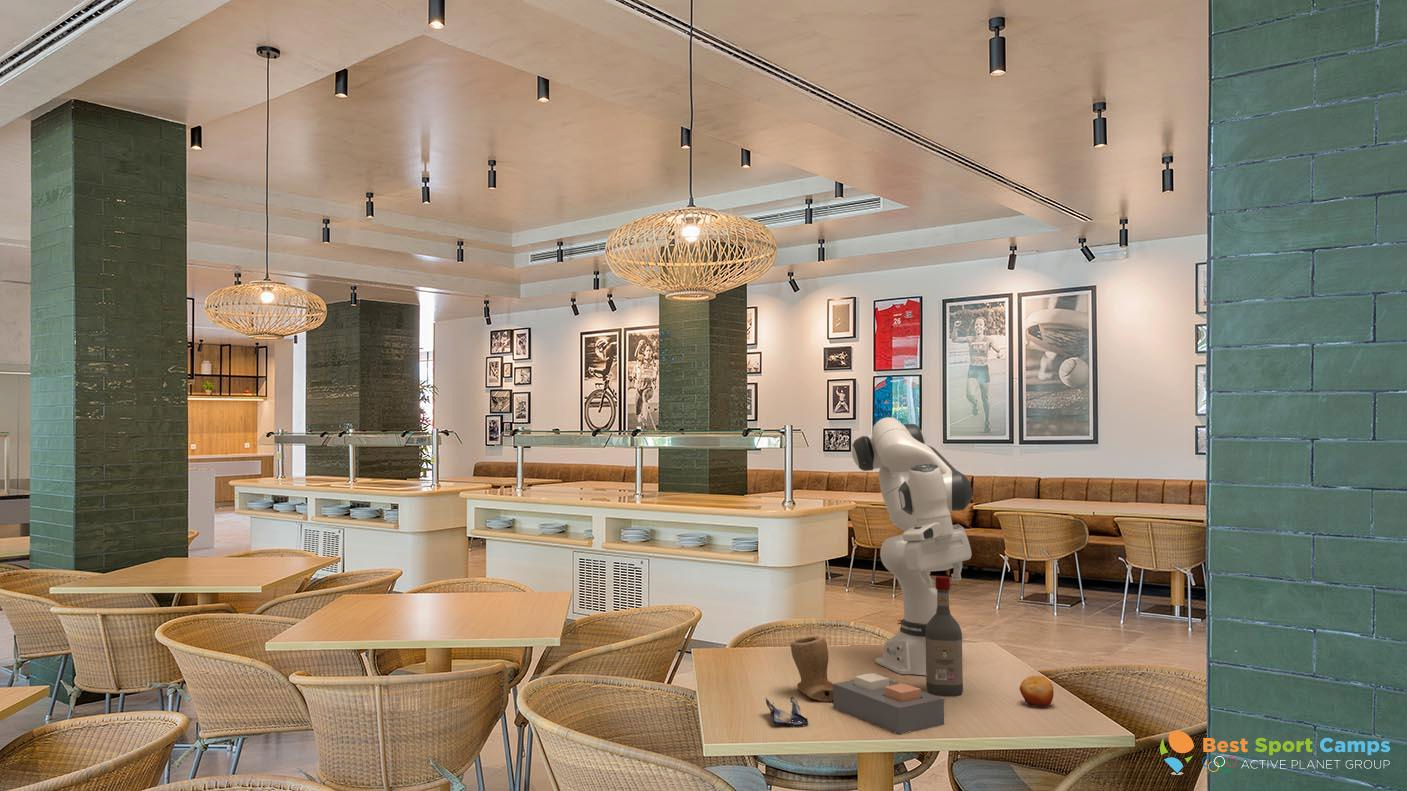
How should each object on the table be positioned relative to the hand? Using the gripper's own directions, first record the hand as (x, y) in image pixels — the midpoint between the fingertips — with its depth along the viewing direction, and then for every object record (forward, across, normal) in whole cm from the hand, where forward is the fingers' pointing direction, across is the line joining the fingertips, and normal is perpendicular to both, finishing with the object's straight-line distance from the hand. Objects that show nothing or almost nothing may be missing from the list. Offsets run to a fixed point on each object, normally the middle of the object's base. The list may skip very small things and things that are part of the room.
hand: (944, 584), depth 236 cm
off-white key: (+23, +18, -13) cm, 32 cm away
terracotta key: (+24, +18, -2) cm, 31 cm away
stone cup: (+26, +21, -31) cm, 45 cm away
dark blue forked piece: (+26, +40, -19) cm, 52 cm away
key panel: (+28, +18, -8) cm, 35 cm away
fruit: (+34, -19, +6) cm, 39 cm away
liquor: (+30, -9, -15) cm, 35 cm away
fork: (+29, +4, -18) cm, 35 cm away
